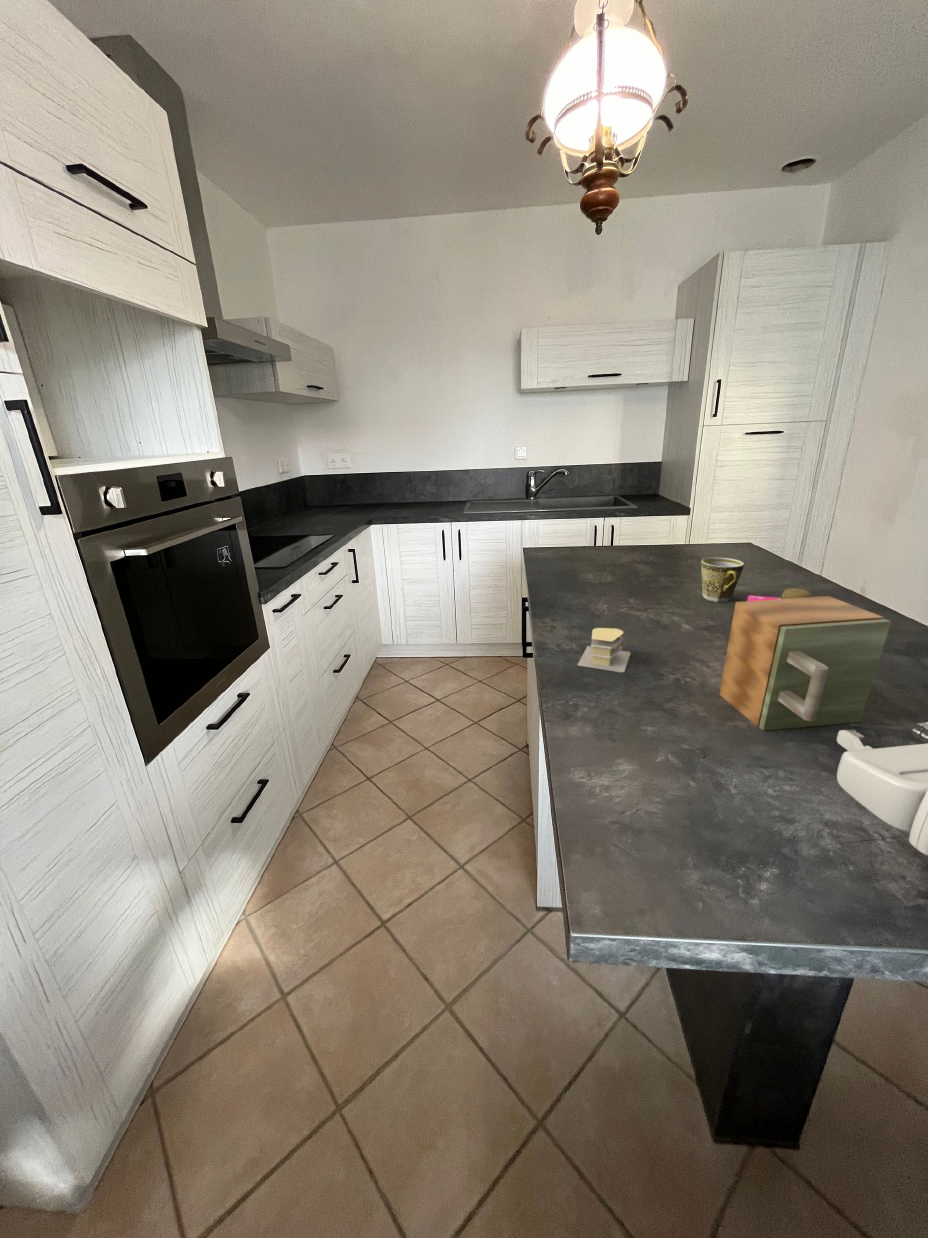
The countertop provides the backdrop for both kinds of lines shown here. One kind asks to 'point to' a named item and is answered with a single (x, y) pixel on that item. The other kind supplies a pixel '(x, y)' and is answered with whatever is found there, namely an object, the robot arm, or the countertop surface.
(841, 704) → the door
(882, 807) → the robot arm
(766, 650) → the cupboard
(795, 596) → the olive rounded oblong
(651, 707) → the countertop surface
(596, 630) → the stacked layers on plate
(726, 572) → the ceramic cup
